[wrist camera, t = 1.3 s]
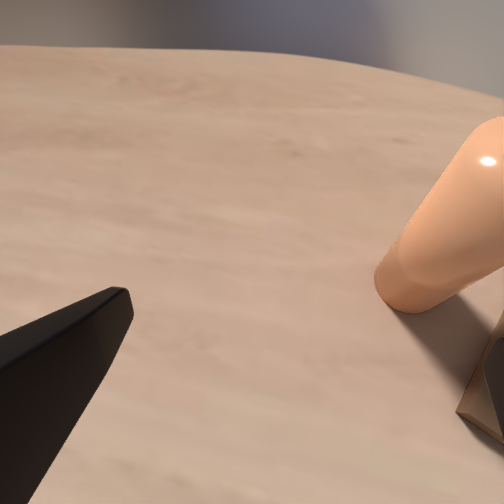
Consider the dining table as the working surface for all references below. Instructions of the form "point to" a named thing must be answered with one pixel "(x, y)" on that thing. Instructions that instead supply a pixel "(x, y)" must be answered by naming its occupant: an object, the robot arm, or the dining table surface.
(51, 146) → the dining table surface
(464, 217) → the peach bottle with cap
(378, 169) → the dining table surface
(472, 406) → the cardboard sheet
